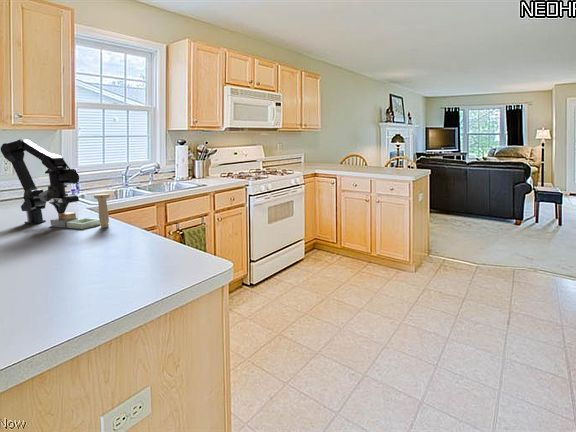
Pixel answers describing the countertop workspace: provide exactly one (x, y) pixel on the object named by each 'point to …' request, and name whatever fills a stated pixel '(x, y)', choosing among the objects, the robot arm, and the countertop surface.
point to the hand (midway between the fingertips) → (61, 216)
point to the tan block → (67, 216)
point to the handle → (103, 209)
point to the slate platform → (60, 222)
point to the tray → (83, 223)
